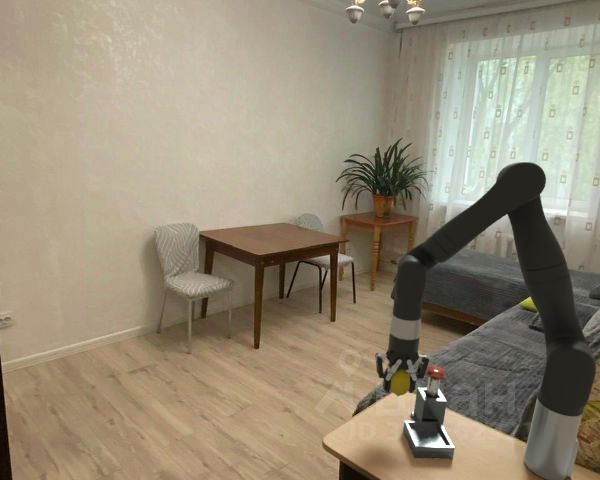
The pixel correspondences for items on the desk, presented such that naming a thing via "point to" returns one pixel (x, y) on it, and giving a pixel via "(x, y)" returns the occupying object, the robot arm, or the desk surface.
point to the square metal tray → (428, 440)
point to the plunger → (434, 380)
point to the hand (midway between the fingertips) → (398, 391)
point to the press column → (429, 407)
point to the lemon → (400, 382)
